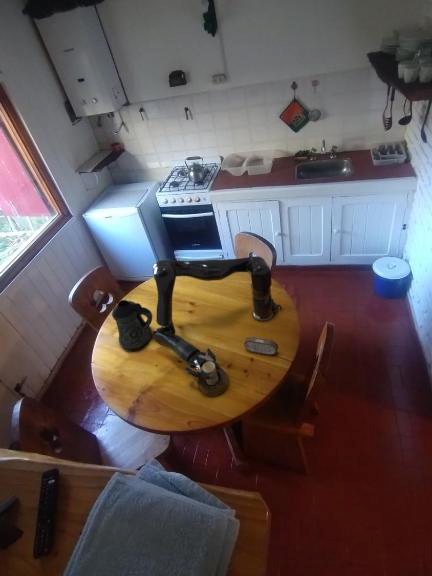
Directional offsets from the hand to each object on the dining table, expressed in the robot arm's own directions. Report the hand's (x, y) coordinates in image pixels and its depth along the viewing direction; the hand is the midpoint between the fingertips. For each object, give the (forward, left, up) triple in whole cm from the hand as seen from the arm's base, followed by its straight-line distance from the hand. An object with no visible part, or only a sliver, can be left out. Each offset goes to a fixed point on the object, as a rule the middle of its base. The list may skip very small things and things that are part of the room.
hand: (213, 373), depth 139 cm
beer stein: (+19, -47, -10) cm, 52 cm away
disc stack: (+1, -2, -7) cm, 7 cm away
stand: (+1, -2, -10) cm, 10 cm away
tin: (-25, -4, -10) cm, 27 cm away
